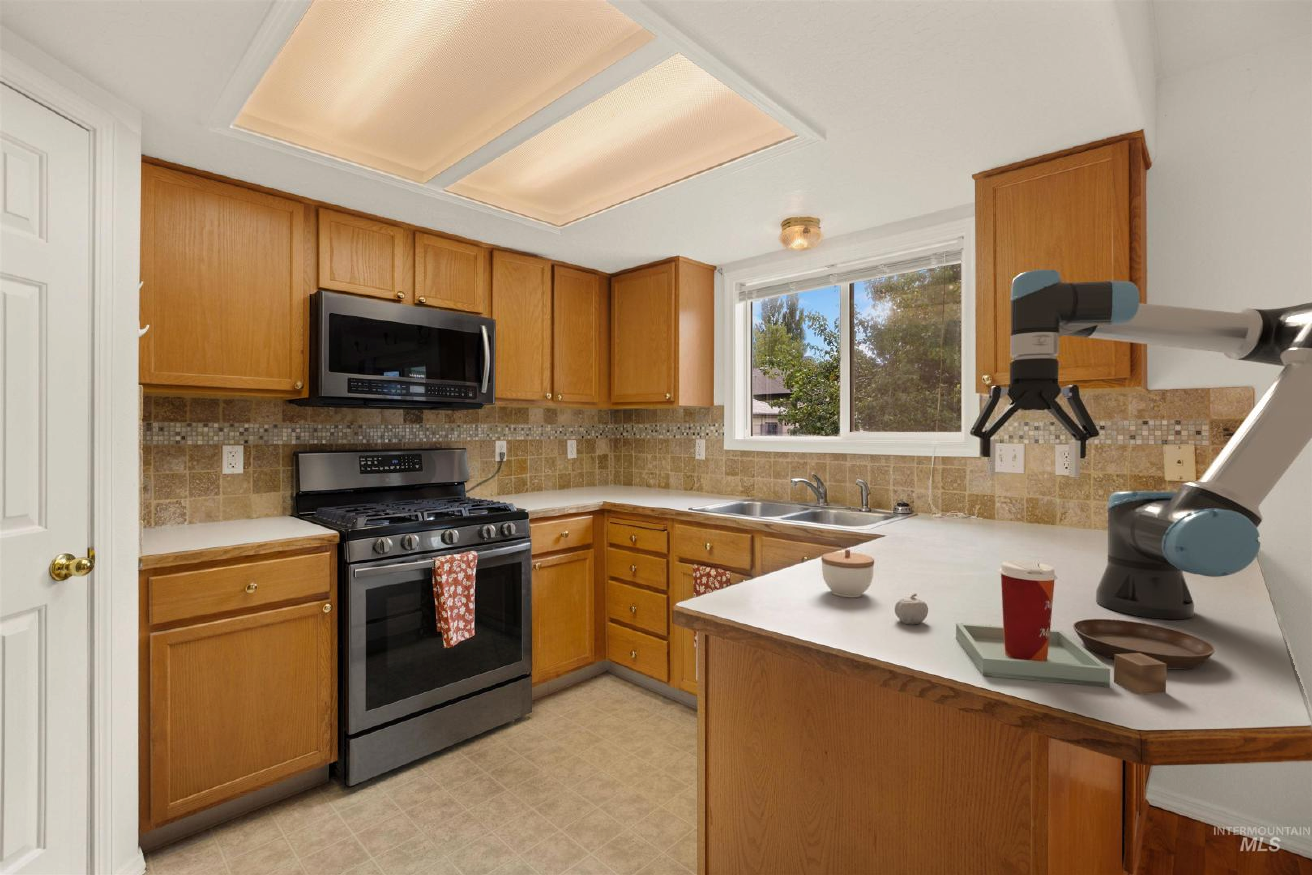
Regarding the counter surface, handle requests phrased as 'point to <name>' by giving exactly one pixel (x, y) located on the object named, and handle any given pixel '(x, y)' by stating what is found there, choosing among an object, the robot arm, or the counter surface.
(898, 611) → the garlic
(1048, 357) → the robot arm
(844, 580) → the lidded jar
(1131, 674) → the walnut block
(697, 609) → the counter surface
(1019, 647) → the paper cup
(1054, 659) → the tray
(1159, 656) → the plant saucer
